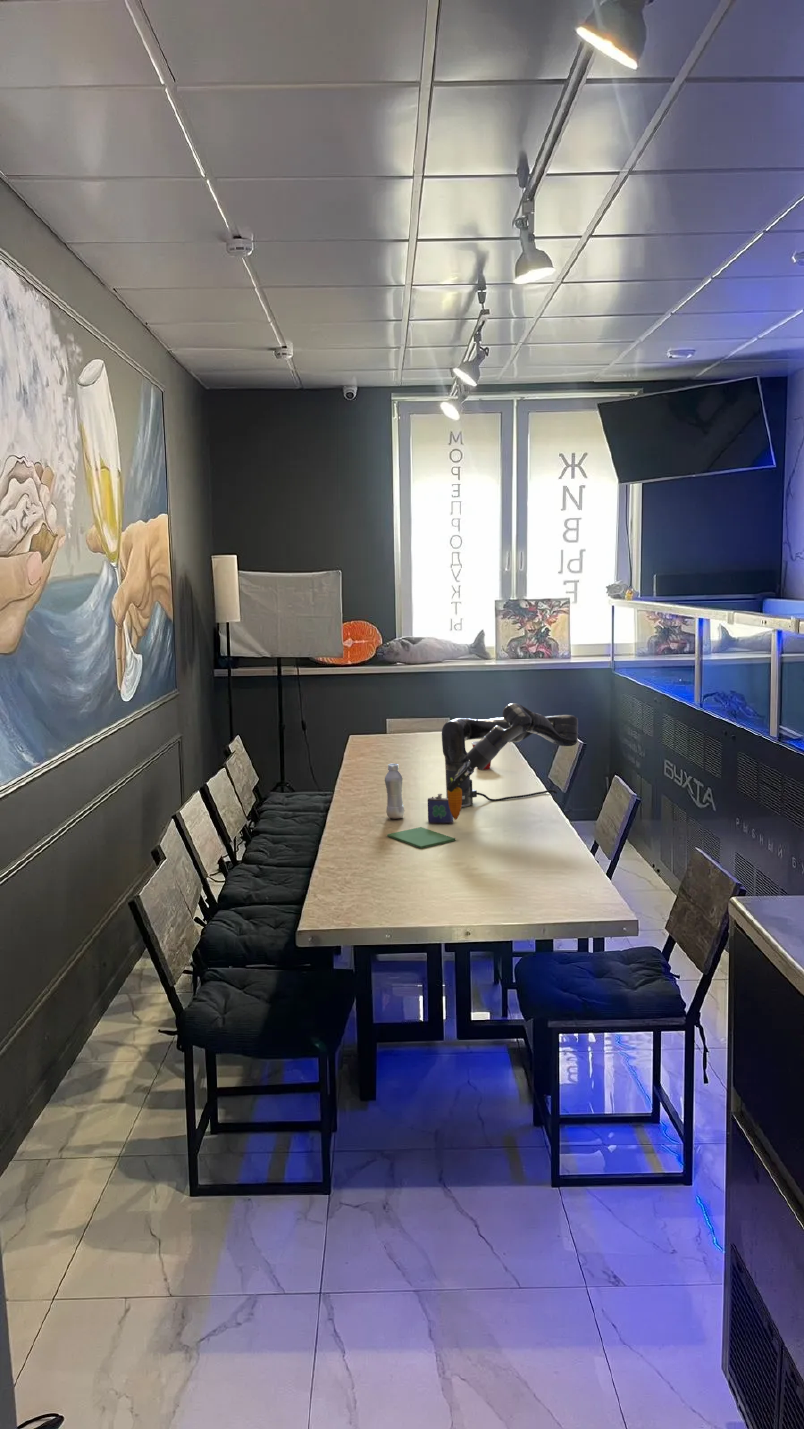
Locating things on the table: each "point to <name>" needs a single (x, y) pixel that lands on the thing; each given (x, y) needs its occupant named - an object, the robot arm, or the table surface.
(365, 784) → the table surface
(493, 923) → the table surface
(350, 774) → the table surface
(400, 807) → the plastic bottle
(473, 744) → the plastic cup
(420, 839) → the green mat
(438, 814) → the flask
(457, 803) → the carrot
